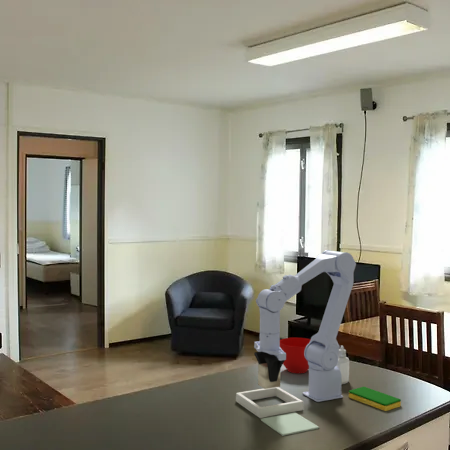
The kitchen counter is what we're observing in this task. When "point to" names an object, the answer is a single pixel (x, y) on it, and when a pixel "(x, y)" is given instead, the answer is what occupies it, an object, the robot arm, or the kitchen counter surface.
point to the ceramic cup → (295, 354)
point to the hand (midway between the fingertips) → (269, 378)
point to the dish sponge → (375, 398)
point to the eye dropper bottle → (343, 365)
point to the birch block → (266, 377)
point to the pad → (289, 424)
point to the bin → (290, 406)
